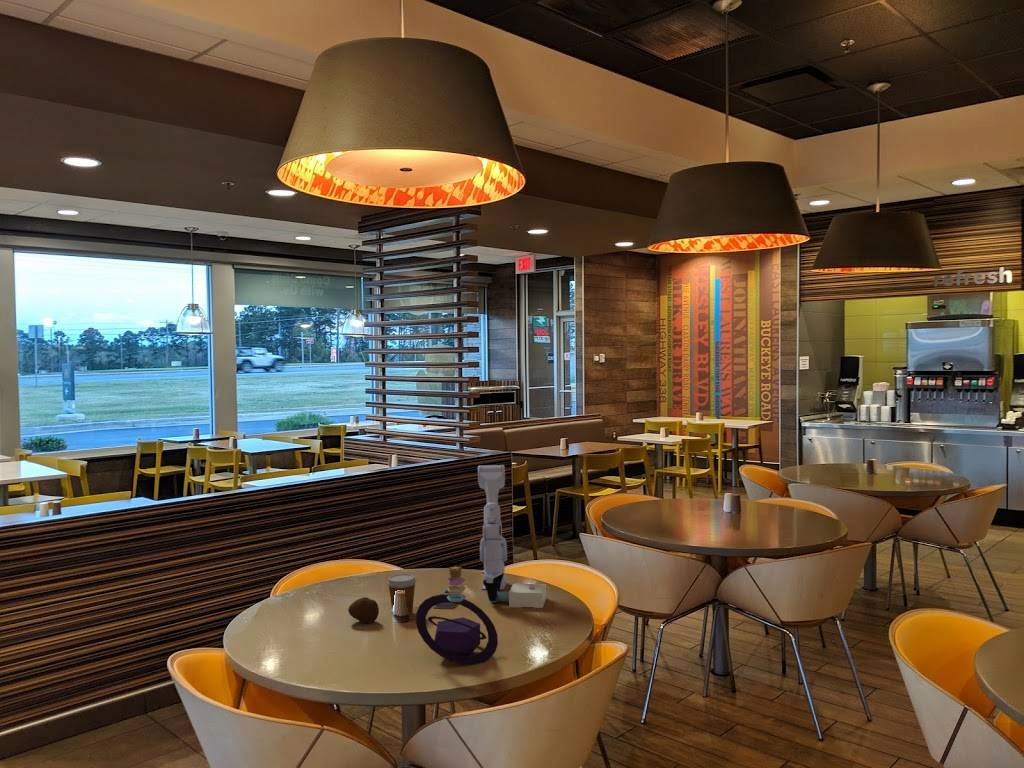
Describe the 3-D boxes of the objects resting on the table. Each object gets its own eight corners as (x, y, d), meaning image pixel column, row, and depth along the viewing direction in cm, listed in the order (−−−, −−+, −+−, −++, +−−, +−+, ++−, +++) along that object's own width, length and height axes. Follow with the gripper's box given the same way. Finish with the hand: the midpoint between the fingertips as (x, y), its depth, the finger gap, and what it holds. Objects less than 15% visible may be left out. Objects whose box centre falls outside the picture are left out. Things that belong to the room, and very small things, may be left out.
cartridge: (492, 599, 272) (491, 588, 271) (535, 600, 269) (535, 589, 269) (490, 602, 268) (490, 591, 268) (534, 603, 266) (534, 592, 266)
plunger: (447, 595, 277) (447, 587, 277) (455, 595, 276) (455, 588, 276) (445, 597, 274) (445, 590, 274) (453, 597, 274) (453, 590, 273)
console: (443, 594, 280) (443, 588, 280) (462, 594, 279) (462, 588, 279) (433, 608, 265) (432, 601, 265) (452, 608, 264) (452, 602, 264)
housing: (513, 597, 274) (513, 581, 273) (546, 598, 272) (545, 581, 272) (509, 607, 264) (508, 589, 264) (542, 608, 262) (542, 590, 262)
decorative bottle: (442, 677, 209) (440, 583, 207) (404, 654, 226) (401, 567, 224) (511, 656, 222) (509, 568, 221) (470, 635, 239) (468, 553, 238)
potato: (376, 626, 249) (375, 601, 249) (345, 626, 250) (345, 601, 249) (382, 618, 256) (381, 594, 256) (352, 618, 257) (351, 594, 257)
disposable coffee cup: (415, 618, 255) (414, 581, 255) (385, 618, 256) (384, 582, 255) (419, 608, 265) (418, 573, 264) (390, 609, 265) (389, 573, 265)
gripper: (485, 552, 277) (486, 591, 277) (477, 563, 263) (478, 604, 263) (505, 552, 276) (506, 591, 276) (498, 564, 261) (499, 604, 262)
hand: (494, 597), depth 270 cm, fingers open, 5 cm apart
